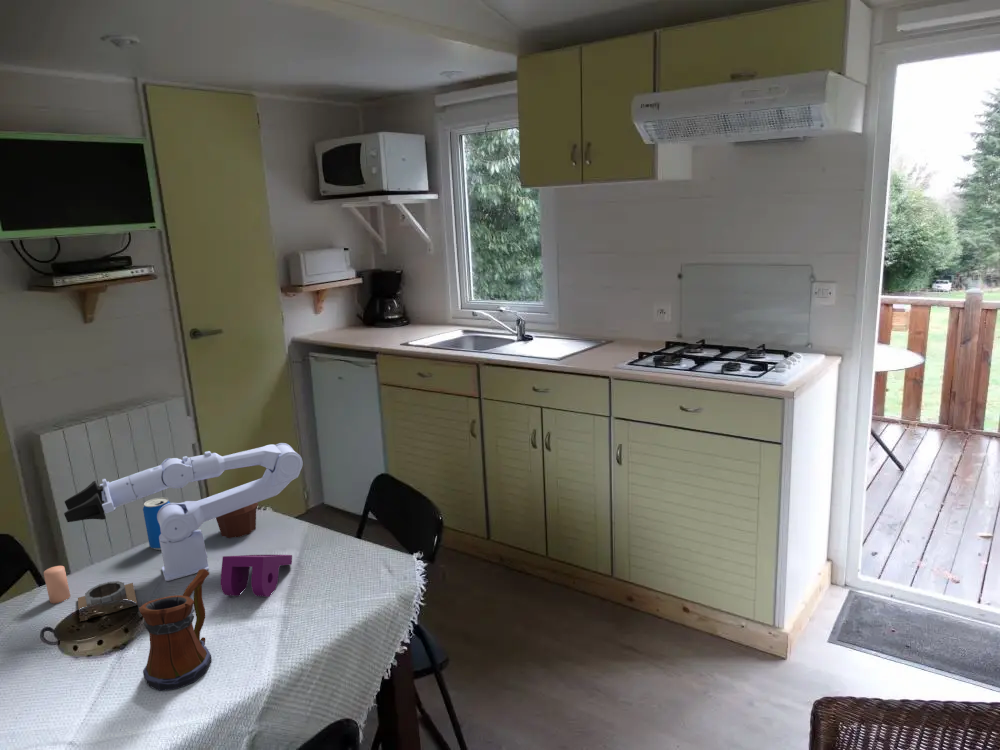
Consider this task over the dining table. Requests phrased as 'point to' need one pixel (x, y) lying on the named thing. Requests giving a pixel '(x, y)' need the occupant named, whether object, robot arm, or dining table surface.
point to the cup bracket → (107, 593)
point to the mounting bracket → (262, 573)
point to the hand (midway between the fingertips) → (65, 511)
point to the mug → (176, 638)
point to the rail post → (56, 584)
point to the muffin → (238, 522)
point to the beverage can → (153, 520)
